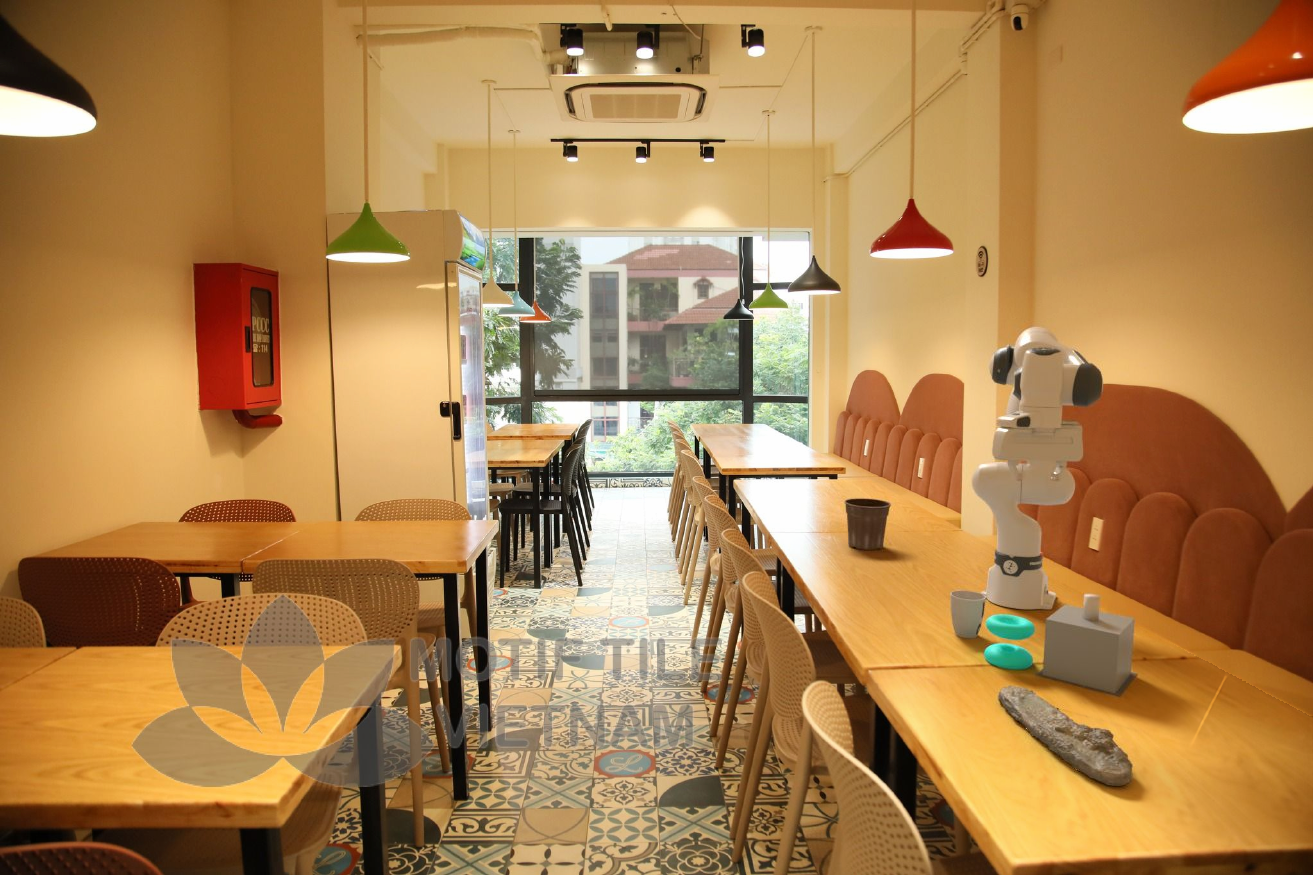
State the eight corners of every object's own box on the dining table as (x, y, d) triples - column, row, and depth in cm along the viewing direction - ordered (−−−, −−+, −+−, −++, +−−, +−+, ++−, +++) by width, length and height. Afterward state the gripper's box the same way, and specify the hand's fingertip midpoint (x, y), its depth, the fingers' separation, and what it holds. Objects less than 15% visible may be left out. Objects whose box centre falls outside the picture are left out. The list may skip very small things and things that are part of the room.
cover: (1061, 657, 182) (1066, 582, 180) (1130, 673, 173) (1136, 595, 171) (1042, 674, 172) (1047, 596, 170) (1115, 693, 162) (1120, 610, 161)
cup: (986, 641, 193) (988, 601, 192) (951, 639, 194) (953, 598, 193) (980, 630, 201) (982, 591, 200) (946, 628, 202) (947, 589, 201)
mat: (1057, 656, 183) (1057, 654, 183) (1137, 675, 173) (1137, 673, 173) (1035, 676, 172) (1035, 675, 172) (1119, 698, 161) (1119, 696, 161)
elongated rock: (1031, 703, 162) (984, 708, 161) (1030, 678, 162) (983, 682, 161) (1154, 787, 127) (1094, 793, 126) (1153, 754, 127) (1094, 760, 126)
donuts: (1006, 610, 185) (1045, 623, 176) (1004, 652, 186) (1042, 667, 177) (976, 616, 180) (1014, 630, 172) (974, 659, 181) (1011, 675, 173)
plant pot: (894, 552, 280) (896, 506, 279) (848, 551, 280) (850, 506, 279) (882, 541, 296) (884, 498, 295) (838, 541, 297) (839, 497, 295)
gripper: (1073, 419, 185) (1069, 479, 186) (990, 418, 183) (987, 478, 184) (1091, 421, 179) (1087, 482, 180) (1005, 419, 177) (1002, 482, 178)
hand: (1036, 480), depth 182 cm, fingers open, 8 cm apart
